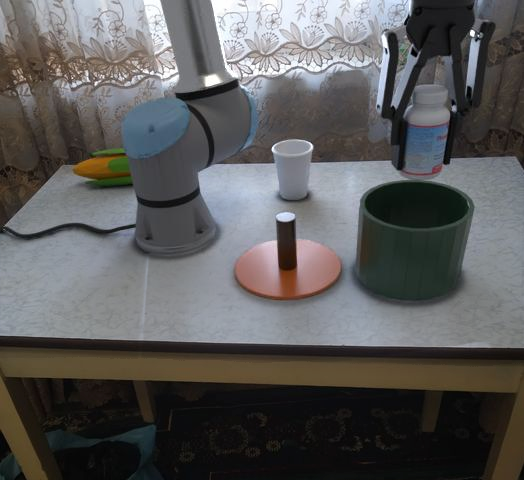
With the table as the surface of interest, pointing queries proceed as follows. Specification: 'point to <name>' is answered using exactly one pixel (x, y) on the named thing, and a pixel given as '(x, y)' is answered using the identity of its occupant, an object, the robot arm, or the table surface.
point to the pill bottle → (425, 132)
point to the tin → (412, 239)
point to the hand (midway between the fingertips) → (420, 163)
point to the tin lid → (287, 265)
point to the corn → (106, 169)
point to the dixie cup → (293, 167)
